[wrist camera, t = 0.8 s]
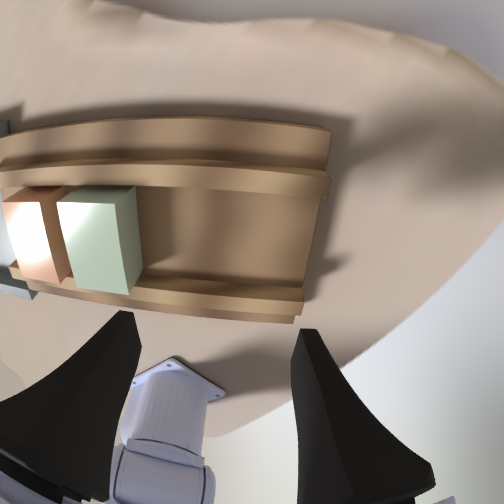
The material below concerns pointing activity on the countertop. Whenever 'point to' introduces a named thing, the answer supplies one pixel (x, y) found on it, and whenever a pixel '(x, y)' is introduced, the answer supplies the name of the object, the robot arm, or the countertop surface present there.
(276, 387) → the countertop surface
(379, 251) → the countertop surface
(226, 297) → the brown wooden rack
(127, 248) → the pale green upright block
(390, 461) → the robot arm
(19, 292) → the tray
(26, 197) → the salmon pink block
